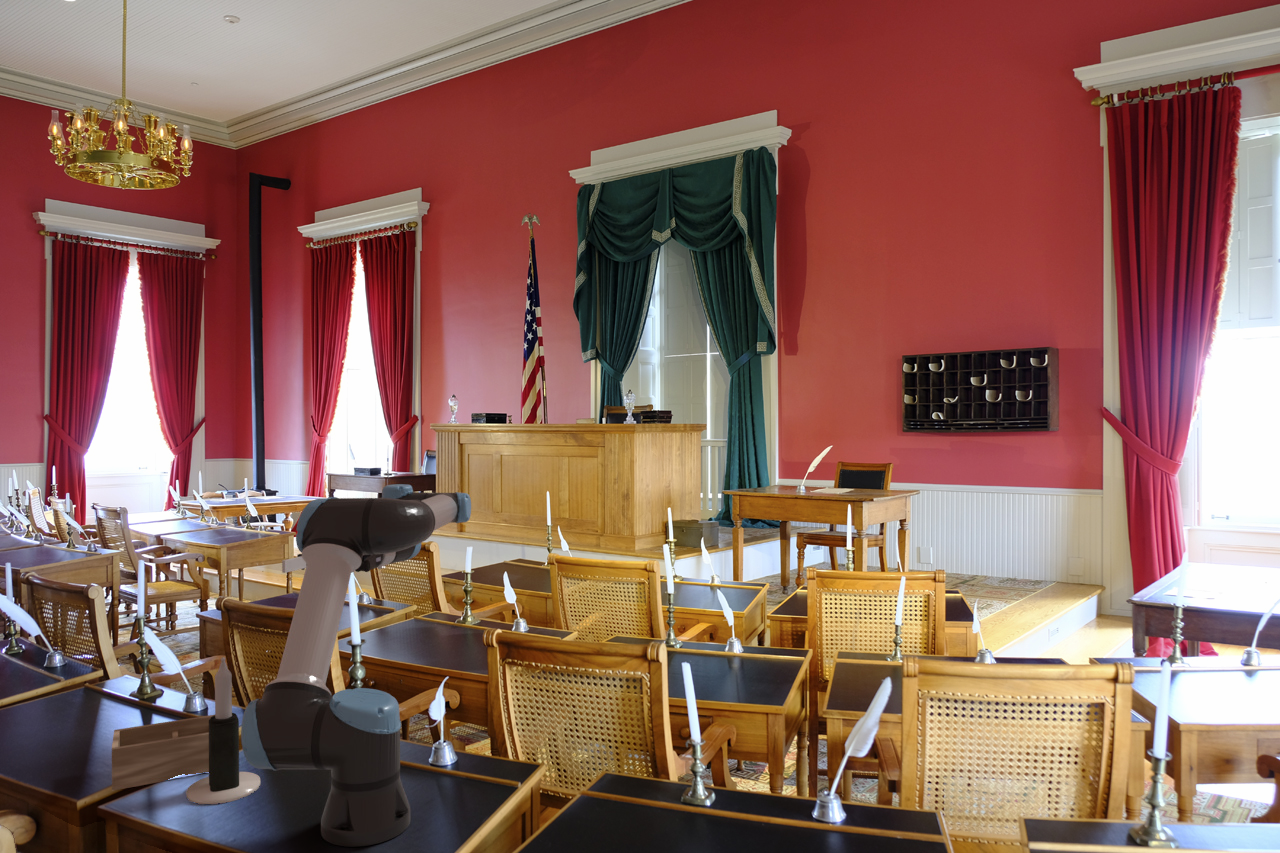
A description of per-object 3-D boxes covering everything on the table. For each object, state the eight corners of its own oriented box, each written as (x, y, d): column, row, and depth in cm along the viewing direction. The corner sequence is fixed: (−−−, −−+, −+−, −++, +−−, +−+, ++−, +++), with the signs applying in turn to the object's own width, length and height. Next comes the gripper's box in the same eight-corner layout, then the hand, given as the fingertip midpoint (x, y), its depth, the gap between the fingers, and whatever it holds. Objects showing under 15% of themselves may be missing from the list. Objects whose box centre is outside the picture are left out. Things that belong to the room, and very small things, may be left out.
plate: (263, 795, 166) (263, 790, 166) (187, 810, 160) (187, 806, 160) (256, 770, 177) (256, 766, 177) (185, 783, 171) (185, 779, 171)
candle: (239, 787, 168) (238, 658, 167) (210, 792, 165) (209, 662, 165) (237, 777, 172) (236, 652, 172) (208, 783, 169) (207, 655, 169)
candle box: (236, 767, 179) (236, 729, 178) (112, 790, 168) (111, 749, 168) (232, 748, 189) (232, 711, 189) (114, 768, 178) (114, 729, 178)
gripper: (414, 572, 205) (353, 590, 185) (331, 564, 214) (264, 581, 195) (414, 540, 205) (352, 555, 185) (330, 534, 214) (263, 548, 194)
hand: (307, 568), depth 190 cm, fingers open, 13 cm apart
